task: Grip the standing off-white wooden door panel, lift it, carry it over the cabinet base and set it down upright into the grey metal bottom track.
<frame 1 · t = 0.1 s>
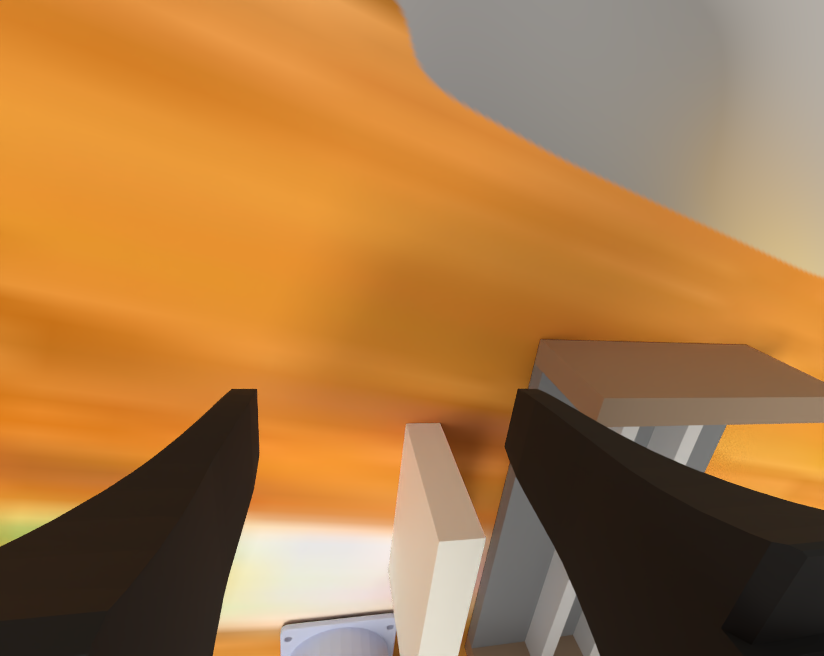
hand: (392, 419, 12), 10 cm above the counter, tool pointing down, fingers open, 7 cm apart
door panel: (411, 501, 27), on the counter
cabinet base: (588, 514, 30), on the counter
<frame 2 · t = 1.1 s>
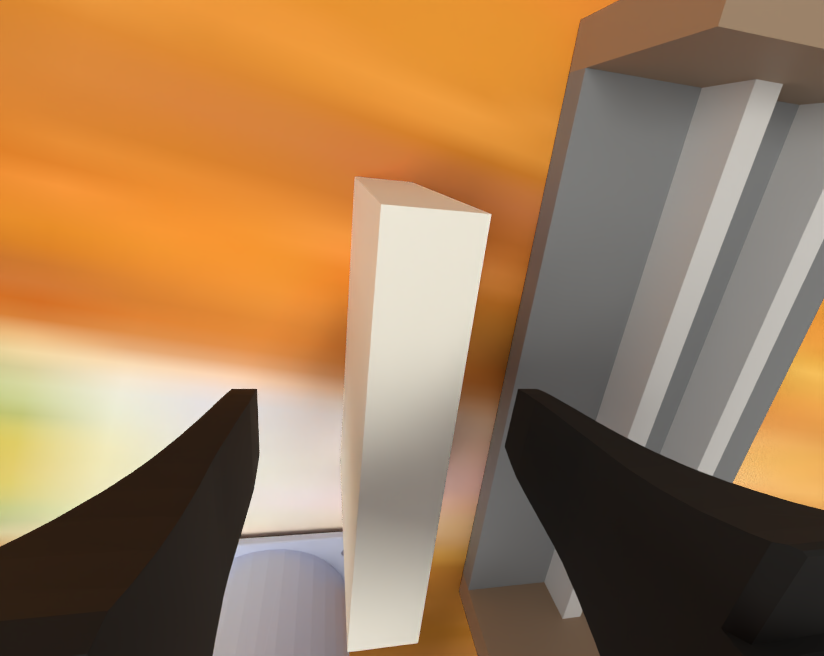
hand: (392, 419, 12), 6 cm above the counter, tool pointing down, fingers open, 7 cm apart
door panel: (371, 337, 17), on the counter
cabinet base: (639, 382, 20), on the counter
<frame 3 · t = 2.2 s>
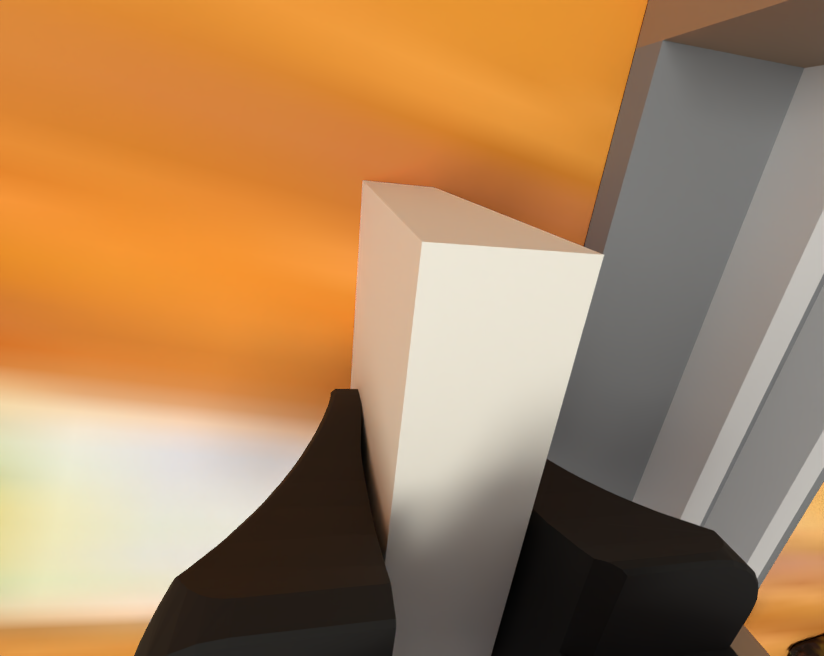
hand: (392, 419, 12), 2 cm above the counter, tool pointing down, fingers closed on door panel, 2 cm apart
door panel: (382, 376, 14), on the counter, touching gripper
cabinet base: (694, 421, 17), on the counter
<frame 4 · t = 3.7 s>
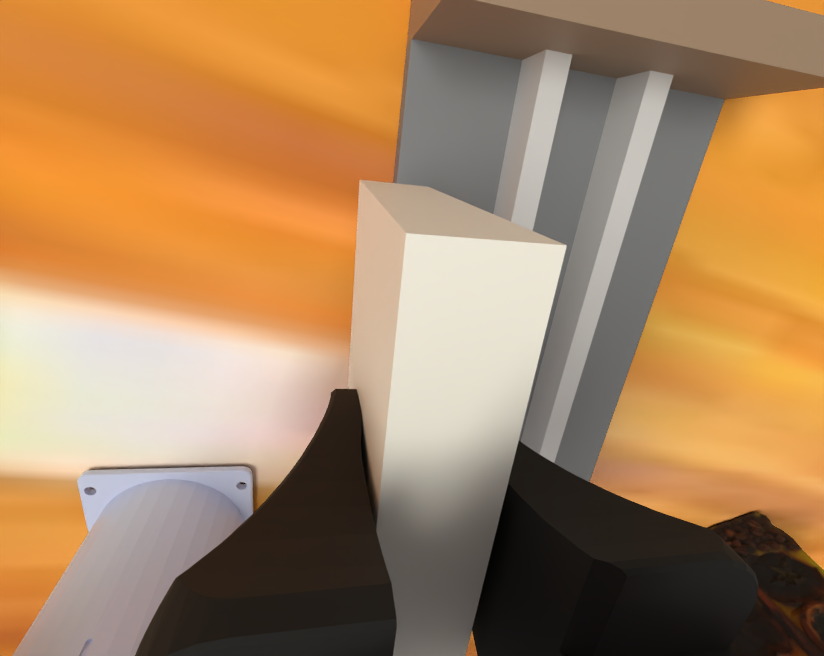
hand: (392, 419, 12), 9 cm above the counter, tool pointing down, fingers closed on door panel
door panel: (378, 366, 14), point 6 cm above the counter, touching gripper
cabinet base: (510, 335, 22), on the counter
candle: (695, 566, 34), on the counter
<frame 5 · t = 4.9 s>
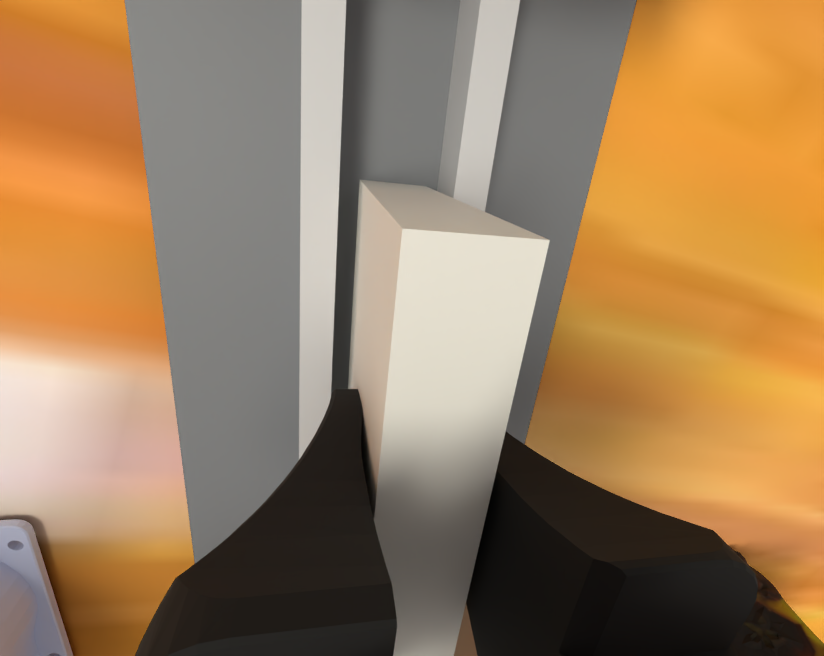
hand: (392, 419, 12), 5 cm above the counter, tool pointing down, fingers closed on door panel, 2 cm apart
door panel: (377, 360, 15), point 2 cm above the counter, touching gripper
cabinet base: (372, 338, 17), on the counter
candle: (659, 611, 29), on the counter
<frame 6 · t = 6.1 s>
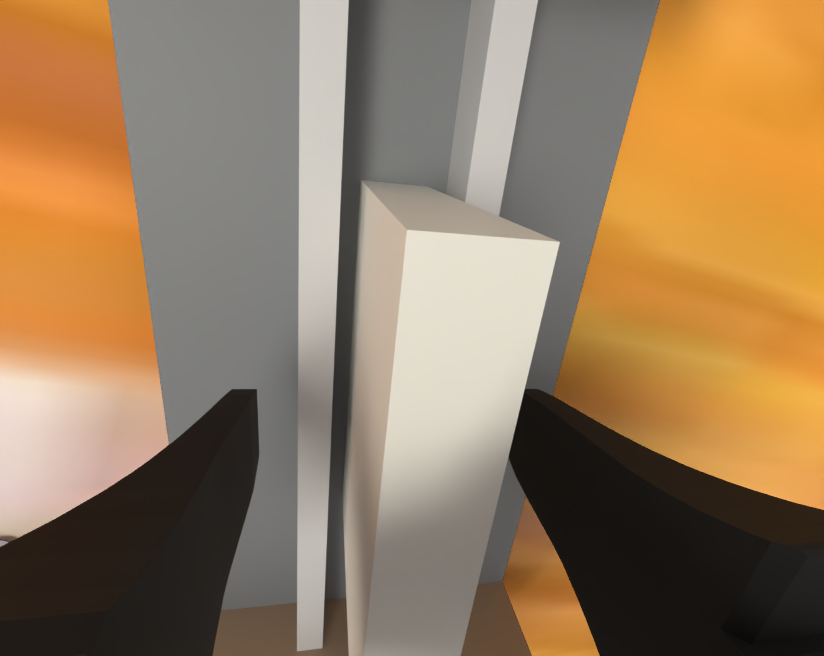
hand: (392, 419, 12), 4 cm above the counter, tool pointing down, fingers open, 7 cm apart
door panel: (379, 363, 15), point 1 cm above the counter, touching cabinet base
cabinet base: (376, 349, 16), on the counter
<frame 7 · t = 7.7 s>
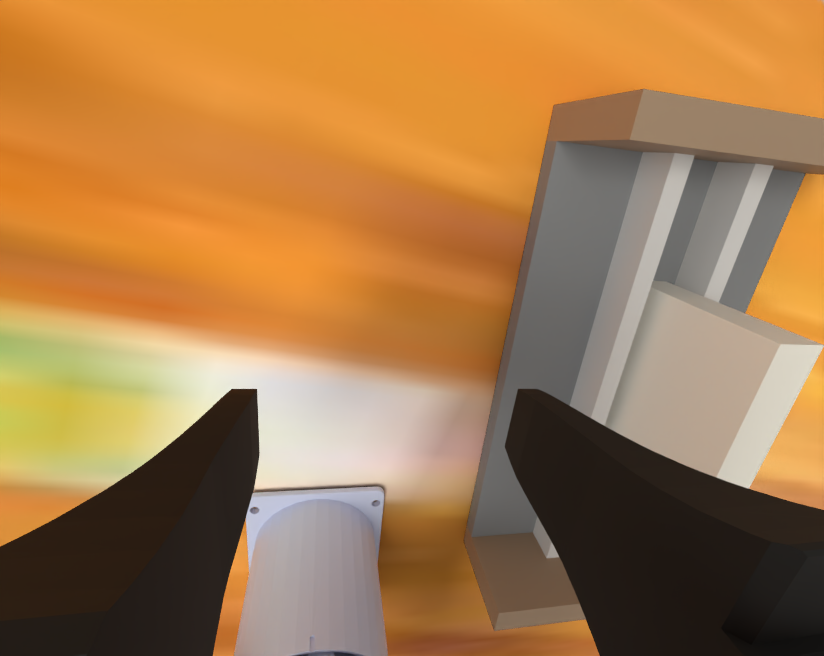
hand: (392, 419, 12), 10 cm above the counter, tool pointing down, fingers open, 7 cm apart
door panel: (617, 379, 25), point 1 cm above the counter, touching cabinet base
cabinet base: (607, 369, 26), on the counter
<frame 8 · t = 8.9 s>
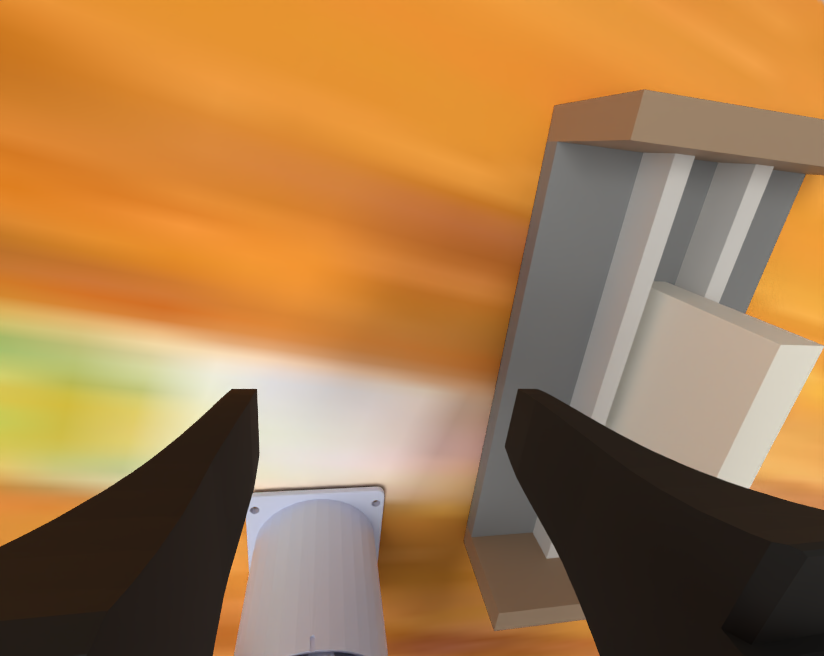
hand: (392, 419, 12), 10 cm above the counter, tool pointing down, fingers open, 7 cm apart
door panel: (617, 379, 25), point 1 cm above the counter, touching cabinet base
cabinet base: (607, 370, 26), on the counter
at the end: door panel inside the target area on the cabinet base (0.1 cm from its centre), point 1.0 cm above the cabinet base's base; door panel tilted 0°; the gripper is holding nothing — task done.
